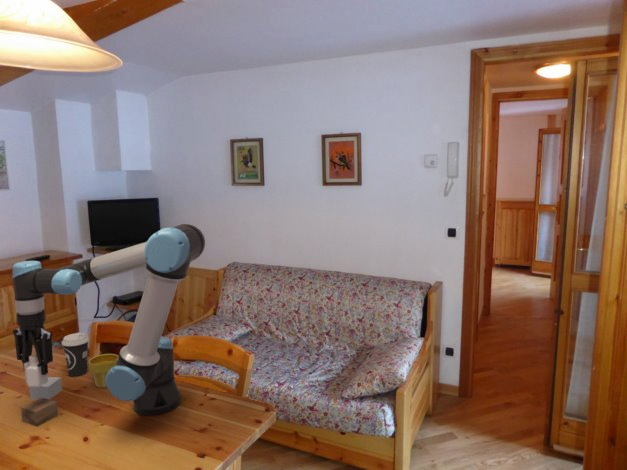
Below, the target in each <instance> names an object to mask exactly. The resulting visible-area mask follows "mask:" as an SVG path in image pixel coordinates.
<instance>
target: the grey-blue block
mask: <svg viewBox="0 0 627 470" xmlns="http://www.w3.org/2000/svg"><path fill="white" fill-rule="evenodd" d="M47 377H48V382H47V383H45V384H43V385H41V386H39V387H29V386H28V390H29V399H30V400H38V399H40V398H46V399H49V400H52V399H53V398H54V397H55V396H57V395H58V394H59V393H60V392H62V391H63V387H62V386H63V385H62V377H61V376H60V377H55V376H54V377H53V376H47Z"/></svg>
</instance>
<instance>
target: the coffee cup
mask: <svg viewBox="0 0 627 470" xmlns="http://www.w3.org/2000/svg"><path fill="white" fill-rule="evenodd" d="M89 341H90V339H89V336H88V335H87V333H83V332H76V333H70V334H68V335H65V336H64V337H63V340H61V345H62V347H63V350H64V351H63V352H64V357H65V362H66V368H67V373H68V377H69V378H70V377H71V378H76V377H78V378H79V377H81V376H84V375H86V374H87V373H88V355H89V354H88V349H89V348H88V347H89Z"/></svg>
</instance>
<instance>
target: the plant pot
mask: <svg viewBox="0 0 627 470" xmlns="http://www.w3.org/2000/svg"><path fill="white" fill-rule="evenodd" d="M118 356H119V354H116V353H104V354H100V355H96V356H95V355H94V356H93V357H91V358H90V359H88V360H87V365H88V371H89V372H90V373H91V375H92V378H93V382H94V385H95V386H96V388H99V389H100V388H102V389H105V388H107V385H106V376H107V373H108V372H109V371H110V369H111V368H112V367H114V366H115V365H116V363H117V360H118Z"/></svg>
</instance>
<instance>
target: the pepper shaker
mask: <svg viewBox="0 0 627 470" xmlns="http://www.w3.org/2000/svg"><path fill="white" fill-rule="evenodd" d="M29 363H30V366H28V367H27V369H26V373H27V383H26V385H27V387H28V388H29V387H39V384H38V372H37V365H38V364H39V362H38V358H37V355H36V353H35V354H32V355H31V356H29Z"/></svg>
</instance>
